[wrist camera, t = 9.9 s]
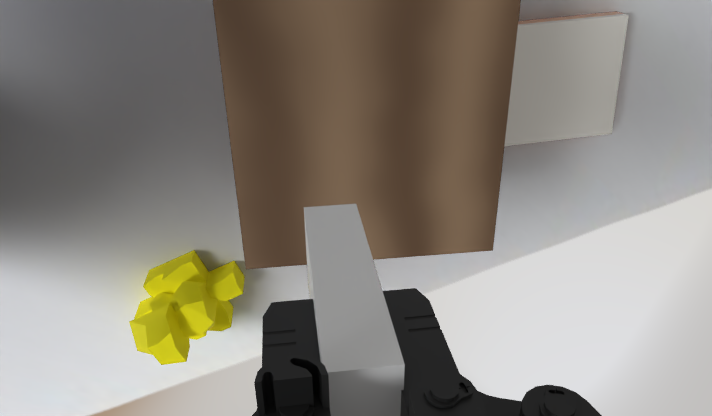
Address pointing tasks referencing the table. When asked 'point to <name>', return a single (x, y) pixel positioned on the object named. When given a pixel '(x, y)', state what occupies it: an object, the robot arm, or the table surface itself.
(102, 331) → the table surface
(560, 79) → the terracotta tile
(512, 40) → the walnut step
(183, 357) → the crumpled paper
